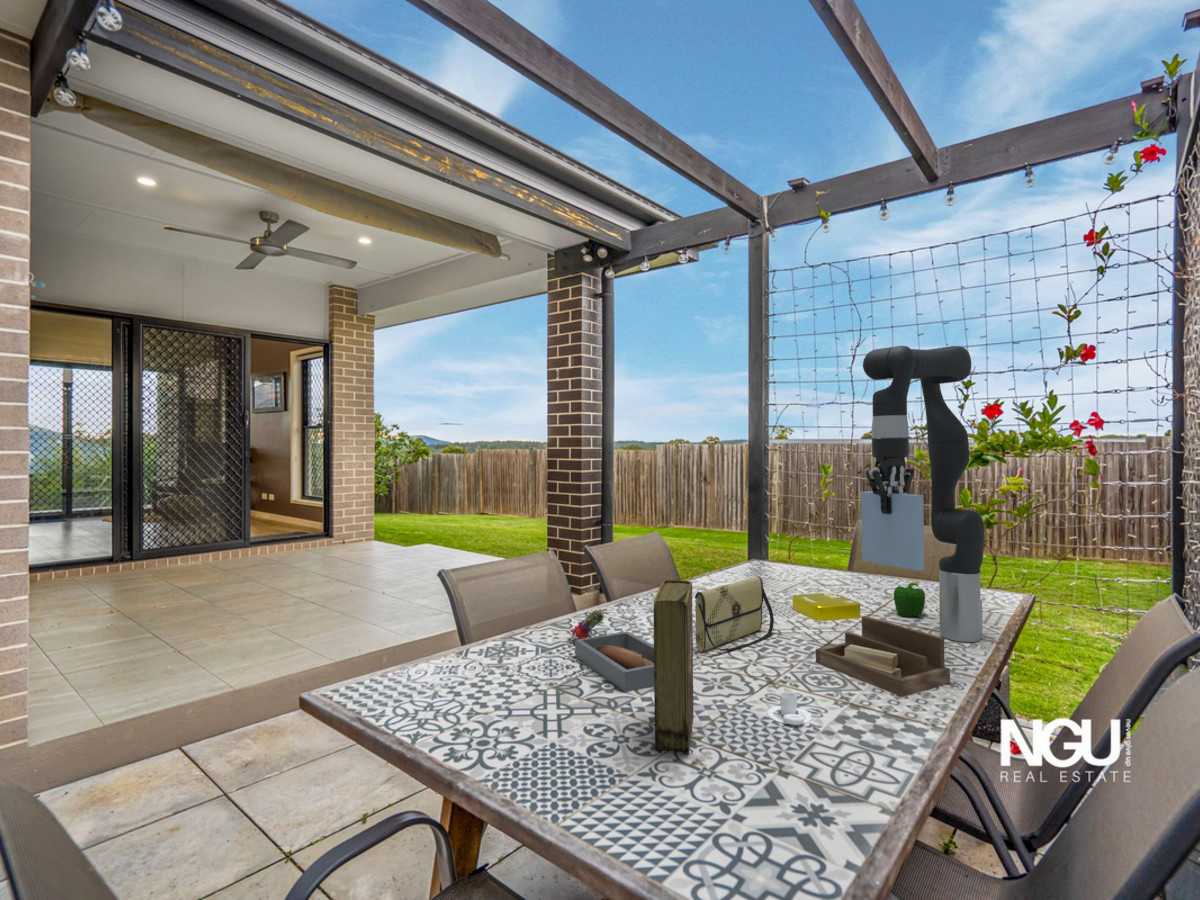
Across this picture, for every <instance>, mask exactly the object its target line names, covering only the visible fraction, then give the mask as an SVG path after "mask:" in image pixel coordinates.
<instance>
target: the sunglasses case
mask: <svg viewBox="0 0 1200 900" xmlns="http://www.w3.org/2000/svg"><path fill="white" fill-rule="evenodd" d="M596 650H597V651H599V652H600V653H602V654H604V655H605V656H607V657H608V658H610V659H611V660H613V661H614V662H616V663H617V664H619V665H620V666H622V667H624V668H625V669H627V670H628V669H633V668H638V667H643V666H648V665H653V664H654V663H653V662H651V661H649V660H647V659H646V658H643V655H640V654H638V653H637V652H633V651H630V650H627V649H624V648H621V647H616V646H610V645H602V646H599V647H597V649H596Z"/></svg>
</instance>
